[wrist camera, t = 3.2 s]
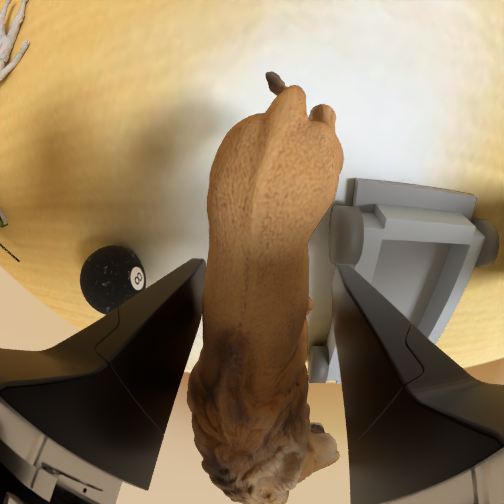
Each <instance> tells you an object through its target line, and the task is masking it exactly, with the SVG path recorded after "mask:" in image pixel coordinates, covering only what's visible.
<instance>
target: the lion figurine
mask: <svg viewBox="0 0 504 504" xmlns="http://www.w3.org/2000/svg"><path fill="white" fill-rule="evenodd" d="M266 79H267V81H268V85H269V89H270V91H271V92H273V93H274V94H275V95H277V97H276V98H275V99H274V101H273V102H272V103H271V105H270V107H269V108H268V110H267V111H266V112H265V113H261V114H255V115H252V116H249V117H247V118H245V119H243V120H242V121H240V122H239V123H237V124H236V125H235V126H233V127H232V128H231V129H230V131H229V132H228V133H227V134H226V136H225V137H224V139H223V141H222V143H221V145H220V147H219V149H218V151H217V153H216V156H215V159H214V161H213V164H212V167H211V172H210V181H209V190H208V196H207V213H208V220H209V253H208V260H207V267H206V273H205V281H204V288H203V295H202V319H203V347H202V350H201V352H200V357H199V360H198V361H197V363H196V364H195V366H194V367H193V369H192V371H191V373H190V377H189V382H188V391H187V403H188V406H189V408H190V410H191V412H192V428H193V431H194V435H195V437H194V441H195V445H196V447H197V449H198V451H199V452H200V454H201V455H202V457H203V459H204V460H203V461H202V467H203V469H204V470H205V472H207V473H208V474H209V475H210V479H211V481H212V483H213V484H214V485H216V486H217V487H218V488H220V489H221V490H222V491H223V492H224V493H225V495H226V496H228V497H230V498H231V500H232V501H234V502H240V503H243V504H285V503H286V502H287V499H288V496H289V490H291V489H293V488H294V487H296V484H297V483H299V482H301V481H302V480H304V479H305V478H306V477H308V476H310V475H311V474H312V473H313V472H315V471H318V470H320V469H322V468H325V467H327V466H329V465H331V464H333V463H335V462H336V461H337V460H338V459H339V457H340V454H339V452H338V451H337V443H336V441H335V439H334V438H333V437H332V436H331V435H330V434H329V433H325V432H324V428H323V426H322V424H320V423H315V422H314V423H310V420H309V415H310V407H309V405H308V404H307V394H308V374H307V373H308V372H307V368H306V365H305V360H306V356H307V350H308V349H307V345H306V342H307V337H308V323H307V320H306V315H308V313H309V312H310V310H311V309H312V308H313V303H312V300H311V299H310V297H309V257H308V248H307V242H308V240H309V238H310V236H311V235H312V233H313V232H314V230H315V228H316V227H317V225H318V224H319V222H320V220H321V219H322V217H323V216H324V214H325V213H326V211H327V210H328V209H329V207H330V206H331V205H332V203H333V201H334V199H335V196H336V192H337V187H338V180H339V174H340V172H341V170H342V166H343V160H344V157H343V150H342V147H341V144H340V142H339V140H338V138H337V136H336V134H335V120H336V115H335V112H334V110H333V109H332V108H331V107H330V106H328V105H325V104H320V105H318V106H315V107H313V109H312V110H311V112H310V115H309V118H308V116H307V113H306V95H305V92H304V91H303V89H302V88H301V87H300V86H297V85H292V86H290V87H286V86H285V83H284V82H283V81H282V80H281V78H280V77H279V75H277V74H276V73H274V72H267V73H266Z"/></svg>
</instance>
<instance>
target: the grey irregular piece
mask: <svg viewBox="0 0 504 504" xmlns="http://www.w3.org/2000/svg"><path fill="white" fill-rule="evenodd" d="M11 1H12V0H6V1H5V5H4V6H3V8H2V10H1V12H0V81H1V80H2V79H3V78H4V77H5V76H6V75H7V74H8V73H9V72H10V71H11V70H12V69H13V68H14V67H15V66H16V65H17V64H18V62H19V61H20V59H21V58H22V56H23V54H24V52H25V50H26V49H27V47H28V45H29V43H30V41H29V42H28V41H27V40H26V42H27V43H28V44H27V43H26V42H25V41H24V43H23V45H22V47H21V50H20V52H19V53H18V54H17V55H16V57H15V58H14V59H13V60H12V62H11V63H9V64H8V65H7V66H5V63H6V62H7V61H8V59H9V57H10V56H9V54H10V52H11V49H12V48H13V44H14V42H15V40H16V37H17V34H18V32H19V28H20V24H21V22H22V21H23V18H24V17H25V15H24V10H25V5H26V2H27V1H28V0H22V3H21V6H20V9H19V11H18V13H17V16H15V18H14V19H13V21H12V24H11V27H10V30H9V32H8V34H6V32H5V24H4V22H5V16H6V12H7V8H8V6H9V4H10V3H11ZM25 44H26V45H27V46H26V45H25Z"/></svg>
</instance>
